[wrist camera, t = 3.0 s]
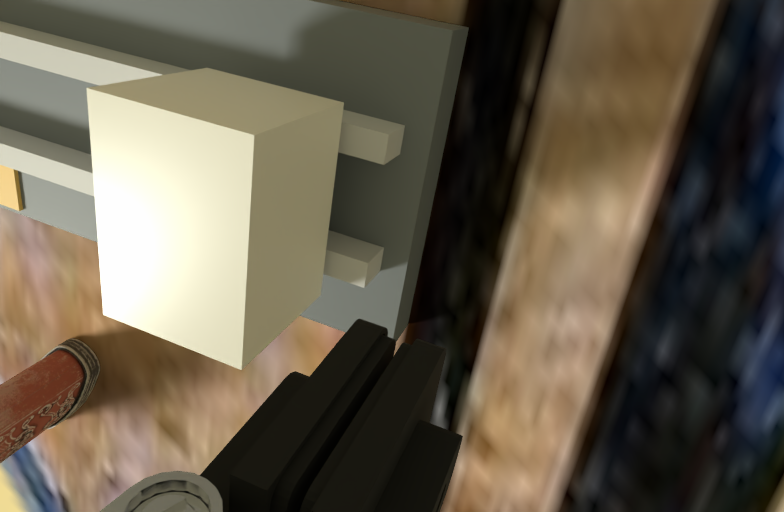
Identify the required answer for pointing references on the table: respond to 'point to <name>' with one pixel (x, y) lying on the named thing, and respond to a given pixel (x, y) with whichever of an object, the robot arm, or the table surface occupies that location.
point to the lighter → (45, 394)
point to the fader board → (259, 62)
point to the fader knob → (211, 206)
